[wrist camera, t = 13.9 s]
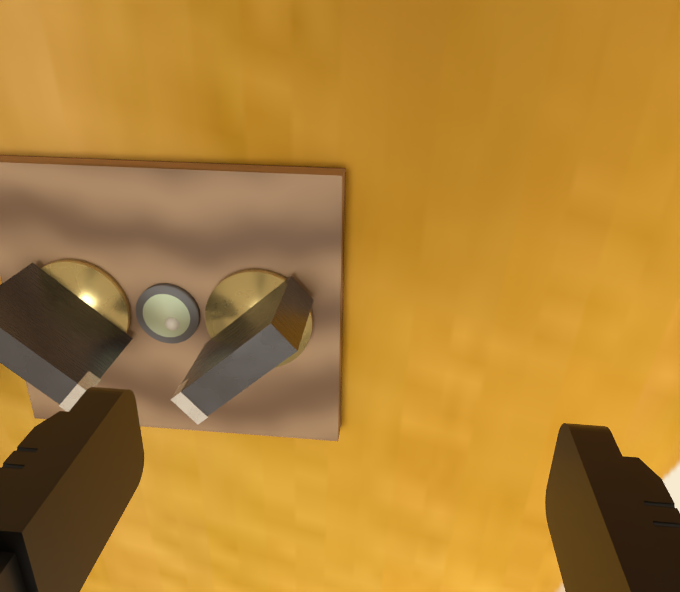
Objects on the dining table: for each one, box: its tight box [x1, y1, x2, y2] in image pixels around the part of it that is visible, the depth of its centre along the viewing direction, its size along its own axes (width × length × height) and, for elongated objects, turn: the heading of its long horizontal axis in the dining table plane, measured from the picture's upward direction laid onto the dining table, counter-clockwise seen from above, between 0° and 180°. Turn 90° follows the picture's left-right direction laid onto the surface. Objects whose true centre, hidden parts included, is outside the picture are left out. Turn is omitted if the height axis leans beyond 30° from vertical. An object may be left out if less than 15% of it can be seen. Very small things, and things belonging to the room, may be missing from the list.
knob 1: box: [0, 258, 133, 412], centre depth 44 cm, size 9×8×8 cm
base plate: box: [0, 155, 345, 441], centre depth 47 cm, size 22×26×3 cm
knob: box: [171, 268, 314, 425], centre depth 43 cm, size 9×8×8 cm
